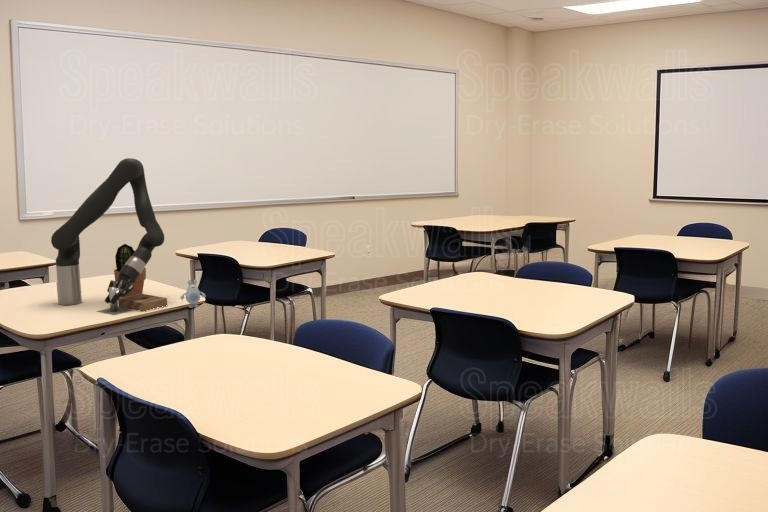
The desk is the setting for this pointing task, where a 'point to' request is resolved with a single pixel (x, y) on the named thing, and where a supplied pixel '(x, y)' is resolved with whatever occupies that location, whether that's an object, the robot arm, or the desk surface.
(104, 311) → the rubber mat
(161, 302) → the hole block
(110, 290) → the metal peg
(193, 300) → the toy figure
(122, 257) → the potted plant
